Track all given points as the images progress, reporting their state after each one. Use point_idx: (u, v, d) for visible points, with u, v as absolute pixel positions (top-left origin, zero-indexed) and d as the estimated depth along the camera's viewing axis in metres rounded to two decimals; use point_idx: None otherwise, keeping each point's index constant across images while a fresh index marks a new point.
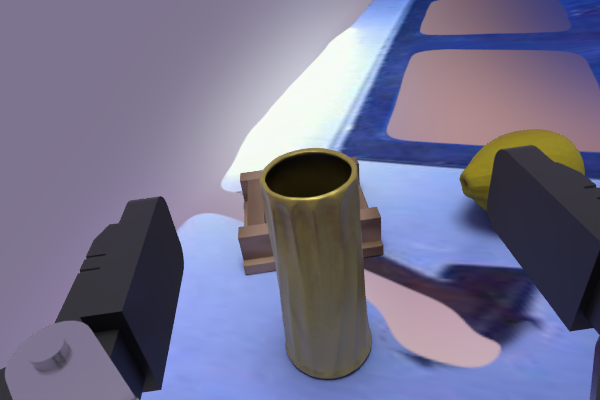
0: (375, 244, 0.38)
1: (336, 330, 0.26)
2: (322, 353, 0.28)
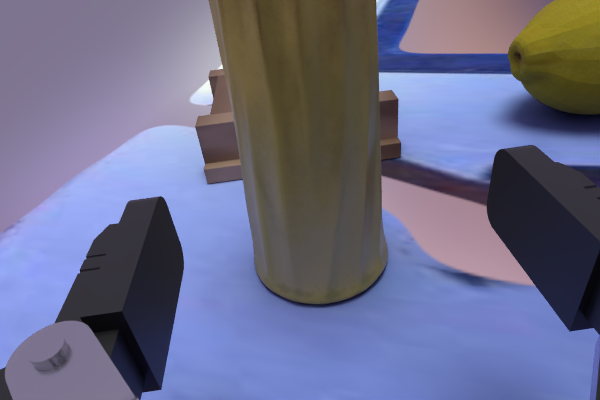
0: (389, 141, 0.27)
1: (332, 210, 0.16)
2: (309, 257, 0.17)
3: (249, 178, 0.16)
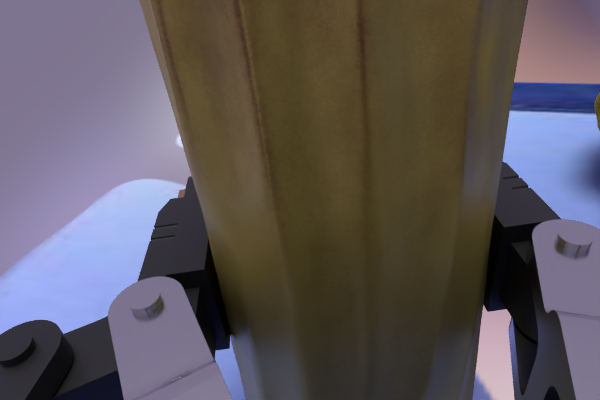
0: None
1: None
2: None
3: (249, 381, 0.09)
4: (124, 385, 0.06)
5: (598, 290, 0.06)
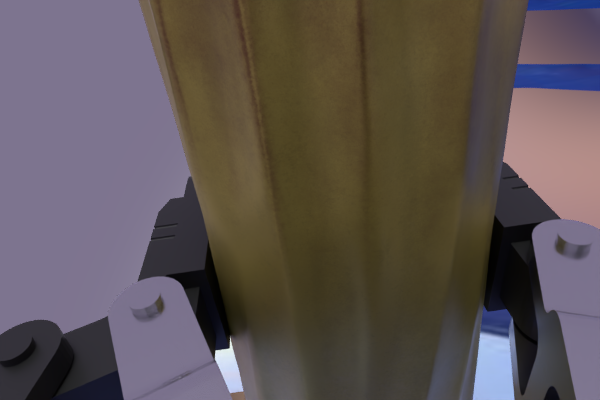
0: None
1: None
2: None
3: (249, 382, 0.09)
4: (124, 385, 0.06)
5: (598, 290, 0.06)
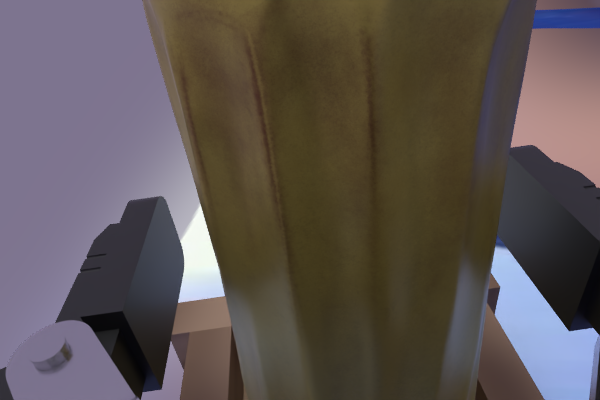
0: None
1: None
2: None
3: None
4: None
5: None
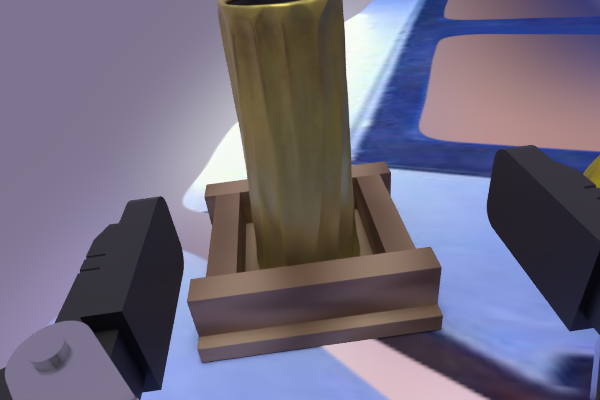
0: (428, 312, 0.22)
1: (315, 218, 0.21)
2: (298, 252, 0.22)
3: (254, 194, 0.22)
4: None
5: None
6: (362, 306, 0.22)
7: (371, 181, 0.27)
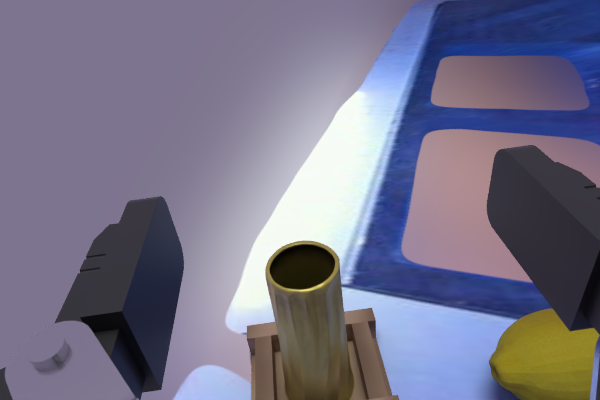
0: None
1: (324, 380, 0.34)
2: (313, 396, 0.35)
3: (285, 361, 0.34)
4: None
5: None
6: None
7: (361, 329, 0.40)
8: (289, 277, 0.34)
